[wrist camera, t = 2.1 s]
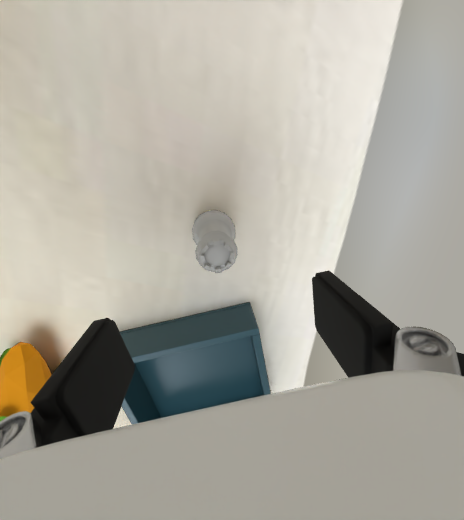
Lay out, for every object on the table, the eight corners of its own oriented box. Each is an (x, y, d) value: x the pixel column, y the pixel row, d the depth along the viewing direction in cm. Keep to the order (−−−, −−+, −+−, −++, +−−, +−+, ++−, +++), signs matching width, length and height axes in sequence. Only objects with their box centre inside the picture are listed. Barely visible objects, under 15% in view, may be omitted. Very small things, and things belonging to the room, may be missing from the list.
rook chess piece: (190, 248, 25) (184, 282, 17) (194, 206, 23) (188, 224, 16) (231, 252, 25) (242, 286, 18) (237, 212, 24) (252, 231, 16)
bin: (115, 332, 28) (97, 365, 23) (249, 301, 28) (258, 328, 23) (159, 420, 34) (151, 459, 29) (267, 393, 34) (277, 428, 30)
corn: (-37, 512, 25) (-77, 376, 18) (12, 436, 32) (-4, 317, 25) (42, 504, 27) (33, 378, 20) (72, 434, 34) (73, 323, 27)
